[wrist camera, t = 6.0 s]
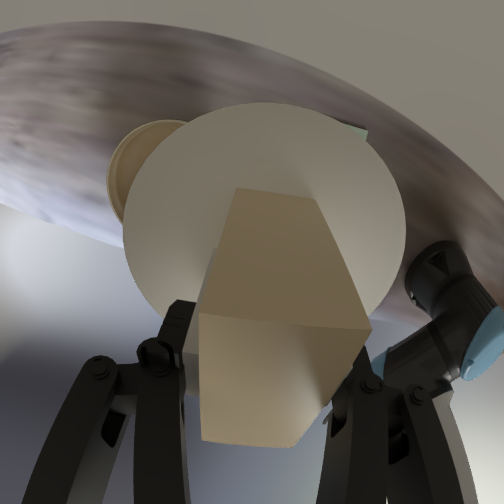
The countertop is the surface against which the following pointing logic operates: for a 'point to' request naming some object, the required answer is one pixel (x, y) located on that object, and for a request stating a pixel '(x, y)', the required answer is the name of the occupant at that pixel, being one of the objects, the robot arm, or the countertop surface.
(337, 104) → the countertop surface
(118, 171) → the planter bowl
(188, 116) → the countertop surface
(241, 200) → the lid
